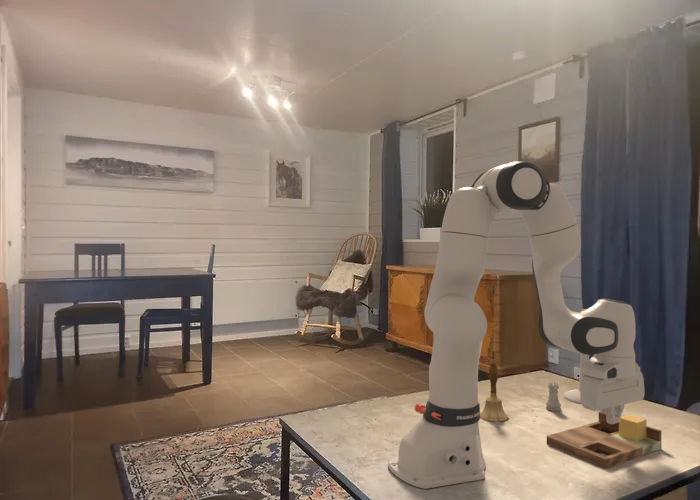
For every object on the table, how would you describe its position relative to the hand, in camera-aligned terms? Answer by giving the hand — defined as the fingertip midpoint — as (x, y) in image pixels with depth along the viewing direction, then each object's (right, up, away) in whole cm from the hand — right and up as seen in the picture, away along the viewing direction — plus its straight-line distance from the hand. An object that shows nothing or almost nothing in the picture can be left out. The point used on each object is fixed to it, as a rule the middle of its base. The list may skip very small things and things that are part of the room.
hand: (613, 422), depth 118 cm
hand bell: (-21, -8, +25) cm, 34 cm away
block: (+8, -5, +5) cm, 10 cm away
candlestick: (+14, -7, +42) cm, 45 cm away
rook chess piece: (-1, -7, +32) cm, 33 cm away
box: (0, -7, +4) cm, 8 cm away
